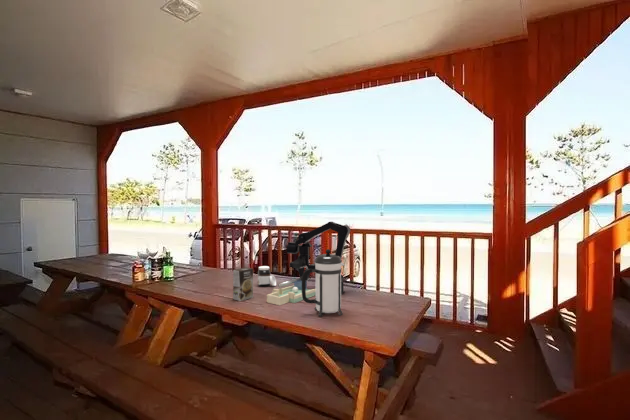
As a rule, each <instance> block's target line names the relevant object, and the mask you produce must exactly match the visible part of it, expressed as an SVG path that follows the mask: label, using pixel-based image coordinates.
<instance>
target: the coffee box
mask: <svg viewBox="0 0 630 420" xmlns="http://www.w3.org/2000/svg"><path fill="white" fill-rule="evenodd" d="M232 273H233V274H232V276H233V279H232V280H233V282H232V286H233V287H232V288H233V289H232V291H233V293H232V297H233V300H235V301H238V302H241V301H245V300H248V299H253V298H254V268H251V267H240V268H236V269H233V271H232Z"/></svg>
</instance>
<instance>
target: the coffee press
mask: <svg viewBox="0 0 630 420" xmlns="http://www.w3.org/2000/svg"><path fill="white" fill-rule="evenodd" d="M314 264H315V269H308V270H306V271H304V273H303V275H302V298H303V300H302V301H304V302H305V303H307V304H315V307H314V311H317V312H318V317H321V318H323V316H324V315H325V314H334V313H337V315H338V316H339V317H341V316H343V314H344V313H343V311H342V309H341V308H342V294H341V275H342V266H345V263H344V262H343V261H342V258H340V257H339V256H338V255H335V253H331V249H326V250H325V253H322V254H319V255H317V256H316V257H315V259H314ZM309 273H310V274H312V273H315V288H316V295H315V298H314V299H309V298H306V276H307V275H308V274H309Z"/></svg>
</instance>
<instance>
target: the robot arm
mask: <svg viewBox="0 0 630 420" xmlns="http://www.w3.org/2000/svg"><path fill="white" fill-rule="evenodd" d="M329 230H332V231H333V232H336V233H337V245H336V248H335V252H334V255H338V256H339V257H340V258H341V259H342V258H343V253H344V250H345V249H344V248H345V245H346V242H347V239H348V238H349V235H350V233H351V227H350V226H349V225H348V224H344V225H343V224H341V223H336V222H334V221H328V222H327V223H325V224H322V225H320V226H319V227H316V228H314V229H313V230H310V231H307V232H302V233H299V234H298V235H297V240H296V241H295V242H292V241H289V242H287V245H286V253H287V254H294V255H295V254H296V255H297V254H298V255H297V259H295V260H293V261H291V262H290V263H289V268H294V270H296V271H297V272H298V274H299V278H300V277H301V276H302V275H303V273H304V272H305V271H306V270H308V269H315V263H312V264H311V262H310V259H309V258H311V255H310V248H311V247H313V244H311V243H310V241H311V240H313V239H314V238H315V237H317V236H318V235H320V234H323V233H324V232H327V231H329ZM310 275H311V273H309V274H308V275H307V276H306V281H308V280H309V279H308V277H309V278H310ZM307 279H308V280H307ZM344 279H345V277H344V276H343V275H342V274H341V295H342V294H344V293H346V291H345V290H344ZM343 292H344V293H343Z"/></svg>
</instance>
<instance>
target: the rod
mask: <svg viewBox="0 0 630 420" xmlns="http://www.w3.org/2000/svg"><path fill="white" fill-rule="evenodd" d="M309 278H310V276H309V277H308V279H307V281H308V280H309ZM307 281H306V290H307V289H308V286H307V285H308V283H307ZM290 284H292V285H294V287H297V288H298V289H302V276H301V277H300V276H299V277H297V278H294V279H291V280H288V281H284V282H281V283H278V284H277V286H278V287H279V288H281V287H284V286H288V285H290Z"/></svg>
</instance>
